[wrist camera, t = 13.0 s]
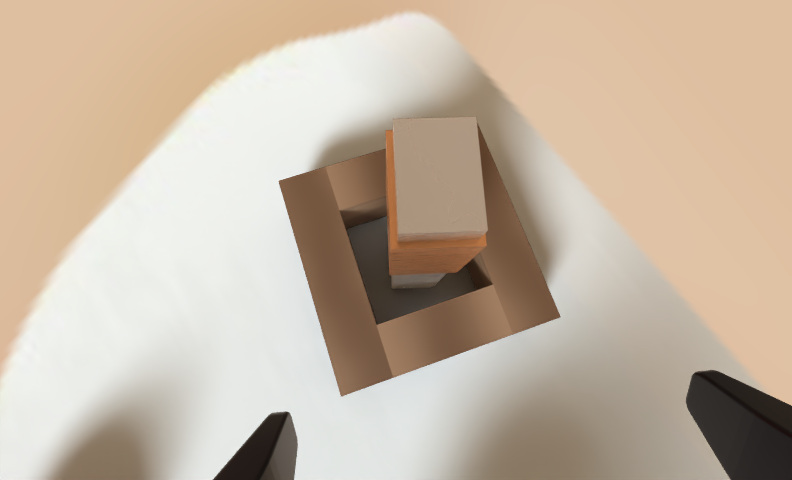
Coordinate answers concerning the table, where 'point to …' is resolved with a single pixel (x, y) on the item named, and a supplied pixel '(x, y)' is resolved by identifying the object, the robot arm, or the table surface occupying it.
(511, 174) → the table surface
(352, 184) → the block
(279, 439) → the robot arm
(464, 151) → the banded grey brick
